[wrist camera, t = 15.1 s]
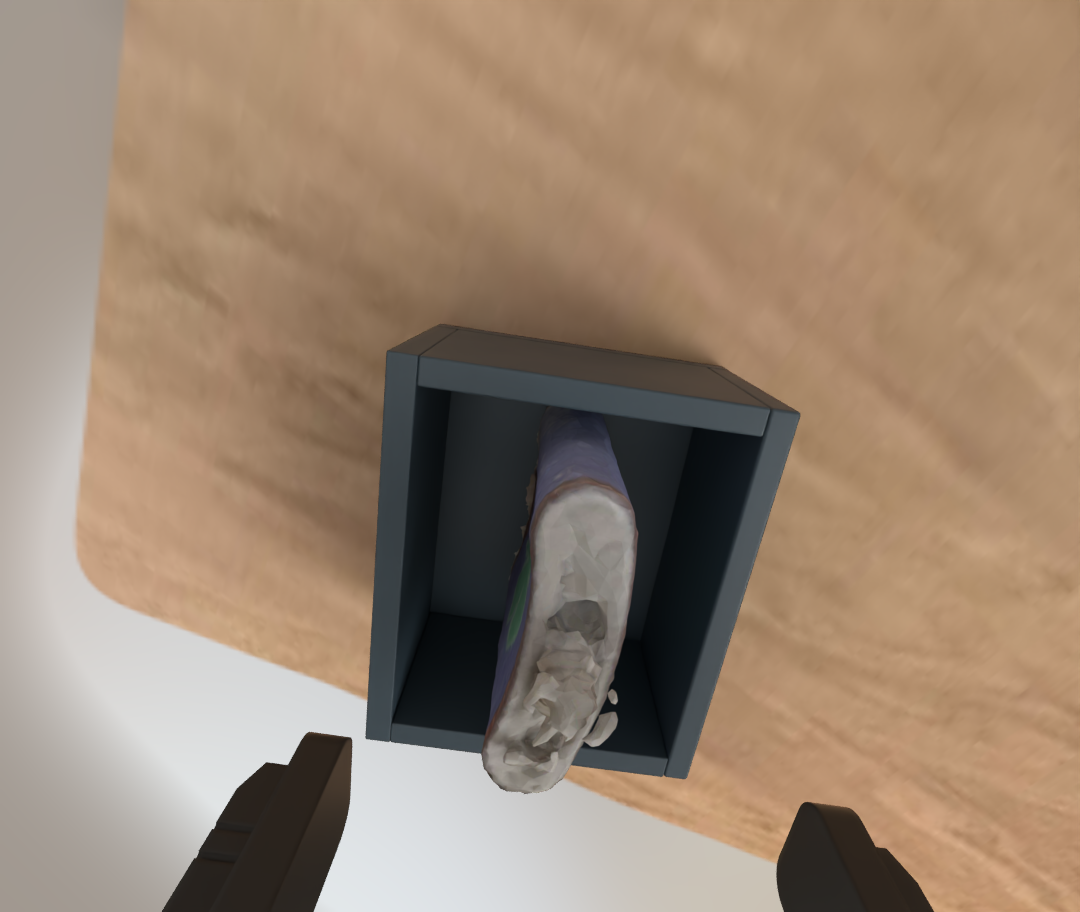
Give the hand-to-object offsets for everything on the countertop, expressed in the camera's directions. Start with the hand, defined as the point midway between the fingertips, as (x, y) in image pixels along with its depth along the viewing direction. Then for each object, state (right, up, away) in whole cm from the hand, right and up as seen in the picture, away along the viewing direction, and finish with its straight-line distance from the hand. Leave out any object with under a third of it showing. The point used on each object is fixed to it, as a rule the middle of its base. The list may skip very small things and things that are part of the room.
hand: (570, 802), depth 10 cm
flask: (0, +4, +12) cm, 13 cm away
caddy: (0, +4, +13) cm, 13 cm away
